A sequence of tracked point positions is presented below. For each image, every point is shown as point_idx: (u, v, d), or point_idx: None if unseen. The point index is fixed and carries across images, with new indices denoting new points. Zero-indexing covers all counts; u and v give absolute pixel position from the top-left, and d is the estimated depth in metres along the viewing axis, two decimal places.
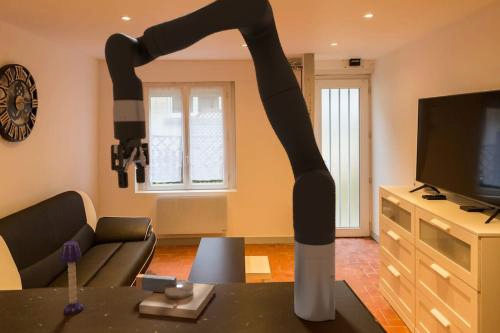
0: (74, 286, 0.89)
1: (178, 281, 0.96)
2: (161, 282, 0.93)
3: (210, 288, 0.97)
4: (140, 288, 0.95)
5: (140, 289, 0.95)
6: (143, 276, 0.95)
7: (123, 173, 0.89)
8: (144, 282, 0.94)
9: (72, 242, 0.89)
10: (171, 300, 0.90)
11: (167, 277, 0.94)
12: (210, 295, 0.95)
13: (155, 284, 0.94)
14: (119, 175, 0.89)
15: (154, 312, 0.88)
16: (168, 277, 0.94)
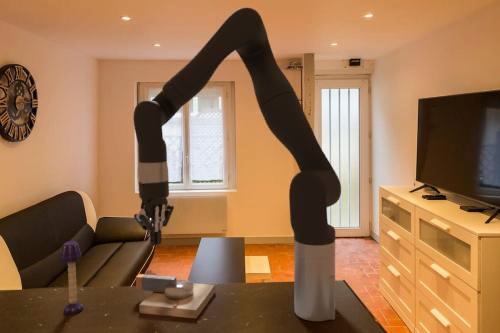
0: (74, 286, 0.89)
1: (178, 281, 0.96)
2: (161, 282, 0.93)
3: (210, 288, 0.97)
4: (140, 288, 0.95)
5: (140, 289, 0.95)
6: (143, 276, 0.95)
7: None
8: (144, 282, 0.94)
9: (72, 242, 0.89)
10: (171, 300, 0.90)
11: (167, 277, 0.94)
12: (210, 295, 0.95)
13: (155, 284, 0.94)
14: None
15: (154, 312, 0.88)
16: (168, 277, 0.94)
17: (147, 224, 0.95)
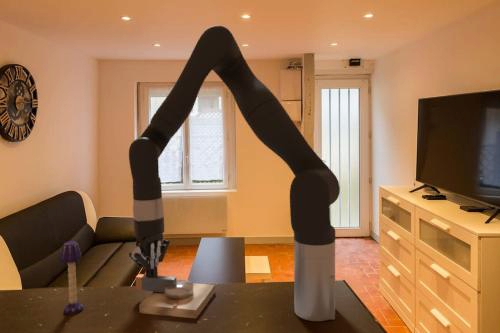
0: (74, 286, 0.89)
1: (178, 281, 0.96)
2: (160, 282, 0.93)
3: (210, 288, 0.97)
4: (140, 288, 0.95)
5: (140, 289, 0.95)
6: (143, 276, 0.95)
7: None
8: (144, 282, 0.94)
9: (72, 242, 0.89)
10: (171, 300, 0.90)
11: (167, 278, 0.94)
12: (210, 295, 0.95)
13: (155, 284, 0.94)
14: None
15: (154, 312, 0.88)
16: (168, 277, 0.94)
17: (142, 262, 0.93)
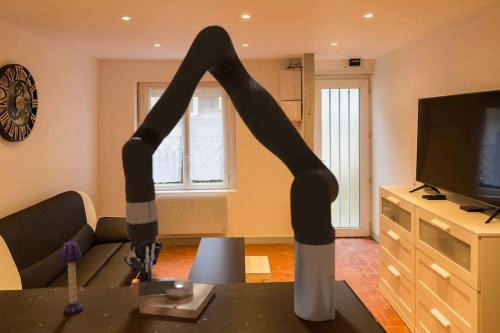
0: (74, 286, 0.89)
1: (175, 282, 0.96)
2: (160, 284, 0.92)
3: (210, 288, 0.97)
4: (137, 293, 0.92)
5: (137, 294, 0.92)
6: (139, 281, 0.92)
7: None
8: (141, 287, 0.92)
9: (72, 242, 0.89)
10: (171, 300, 0.90)
11: (166, 279, 0.93)
12: (210, 295, 0.95)
13: (154, 288, 0.92)
14: None
15: (154, 312, 0.88)
16: (167, 278, 0.93)
17: (138, 266, 0.91)
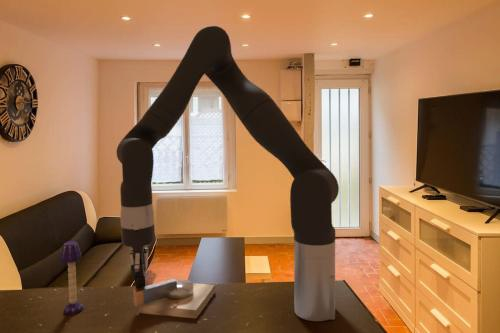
0: (74, 286, 0.89)
1: None
2: (164, 288, 0.90)
3: (210, 288, 0.97)
4: (141, 303, 0.87)
5: (141, 304, 0.87)
6: (142, 289, 0.87)
7: None
8: (146, 294, 0.87)
9: (72, 242, 0.89)
10: (171, 300, 0.90)
11: (167, 281, 0.91)
12: (210, 295, 0.95)
13: (158, 292, 0.89)
14: None
15: (154, 312, 0.88)
16: (167, 281, 0.92)
17: (143, 273, 0.86)
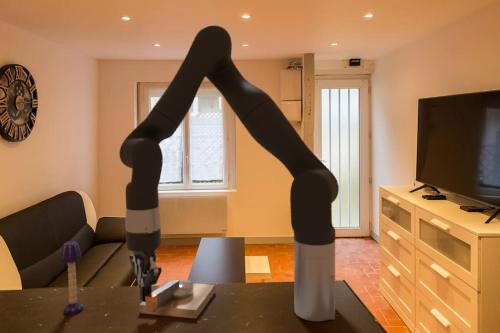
0: (74, 286, 0.89)
1: None
2: (171, 289, 0.89)
3: (210, 288, 0.97)
4: (156, 308, 0.84)
5: (156, 309, 0.84)
6: (155, 294, 0.85)
7: (140, 284, 0.87)
8: (159, 299, 0.85)
9: (72, 242, 0.89)
10: (171, 300, 0.90)
11: (171, 283, 0.91)
12: (210, 295, 0.95)
13: (167, 295, 0.88)
14: None
15: (154, 312, 0.88)
16: (170, 282, 0.91)
17: None
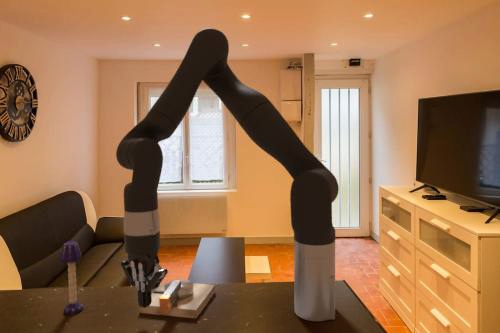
0: (74, 286, 0.89)
1: (168, 286, 0.93)
2: (177, 289, 0.89)
3: (210, 288, 0.97)
4: (169, 309, 0.84)
5: (169, 310, 0.84)
6: (167, 295, 0.84)
7: (138, 290, 0.84)
8: (171, 299, 0.85)
9: (72, 242, 0.89)
10: None
11: (175, 283, 0.90)
12: (210, 295, 0.95)
13: (175, 295, 0.88)
14: None
15: (154, 312, 0.88)
16: (174, 283, 0.91)
17: None
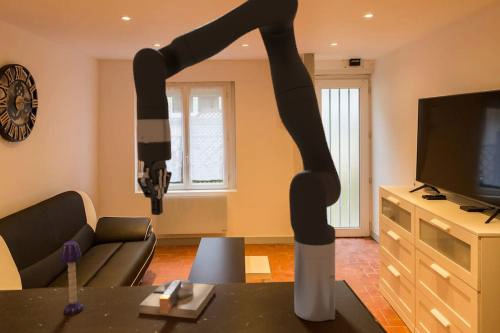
0: (74, 286, 0.89)
1: (168, 286, 0.93)
2: (177, 289, 0.89)
3: (210, 288, 0.97)
4: (169, 309, 0.84)
5: (169, 310, 0.84)
6: (167, 295, 0.84)
7: None
8: (171, 299, 0.85)
9: (72, 242, 0.89)
10: None
11: (175, 283, 0.90)
12: (210, 295, 0.95)
13: (175, 295, 0.88)
14: None
15: (154, 312, 0.88)
16: (174, 283, 0.91)
17: (152, 189, 0.83)
